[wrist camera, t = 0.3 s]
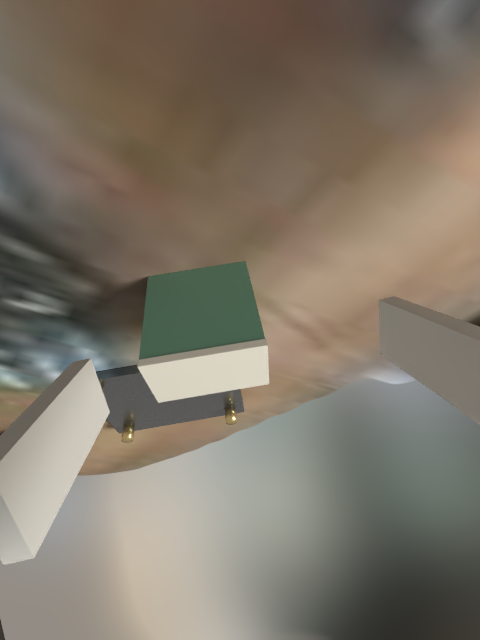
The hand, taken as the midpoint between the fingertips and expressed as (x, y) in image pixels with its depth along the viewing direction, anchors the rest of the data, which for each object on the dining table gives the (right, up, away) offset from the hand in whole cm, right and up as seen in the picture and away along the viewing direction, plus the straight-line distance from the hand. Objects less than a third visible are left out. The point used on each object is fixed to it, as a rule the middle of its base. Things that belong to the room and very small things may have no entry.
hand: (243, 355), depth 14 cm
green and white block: (-4, +5, +16) cm, 17 cm away
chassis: (-10, -8, +28) cm, 31 cm away
